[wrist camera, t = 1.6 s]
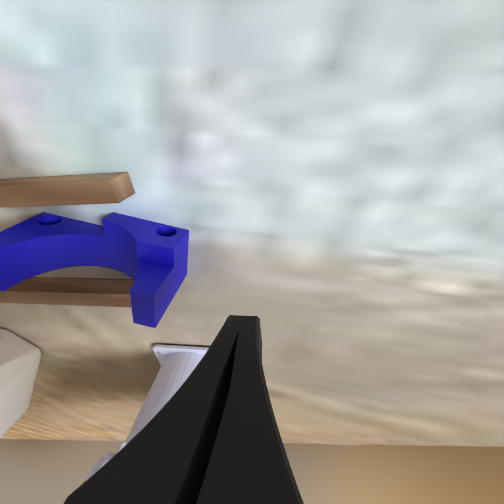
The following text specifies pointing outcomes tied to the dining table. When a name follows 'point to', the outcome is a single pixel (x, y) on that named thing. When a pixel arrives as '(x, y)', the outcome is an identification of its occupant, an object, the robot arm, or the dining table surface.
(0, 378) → the vase
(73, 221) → the cable clip
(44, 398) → the dining table surface
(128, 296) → the guide
